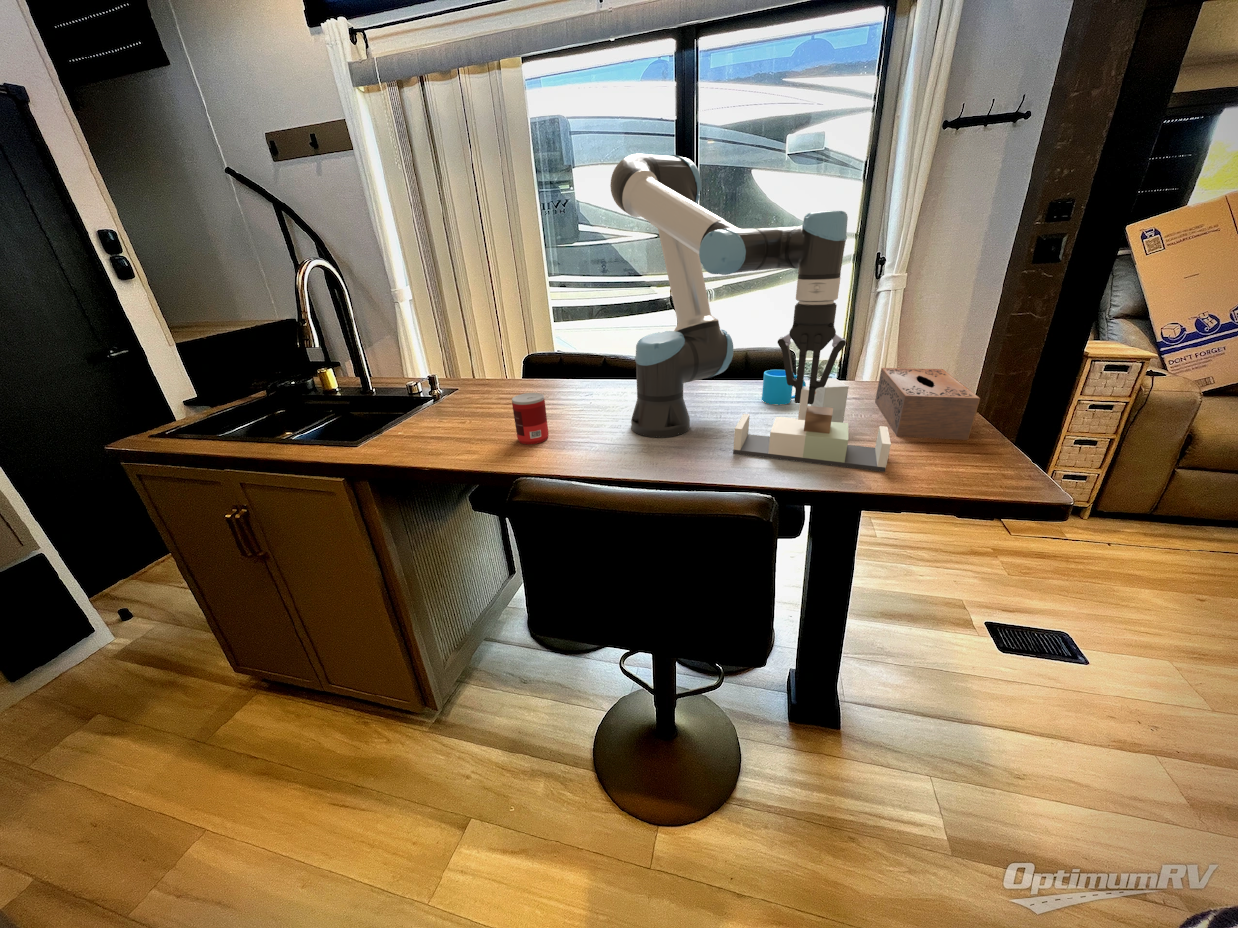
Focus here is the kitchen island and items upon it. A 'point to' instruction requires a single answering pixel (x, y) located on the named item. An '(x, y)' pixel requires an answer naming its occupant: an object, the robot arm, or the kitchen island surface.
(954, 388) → the tissue box cover
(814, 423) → the walnut block
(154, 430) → the kitchen island surface
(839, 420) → the small box
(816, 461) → the board
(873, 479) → the kitchen island surface
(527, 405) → the canned food
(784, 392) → the mug
